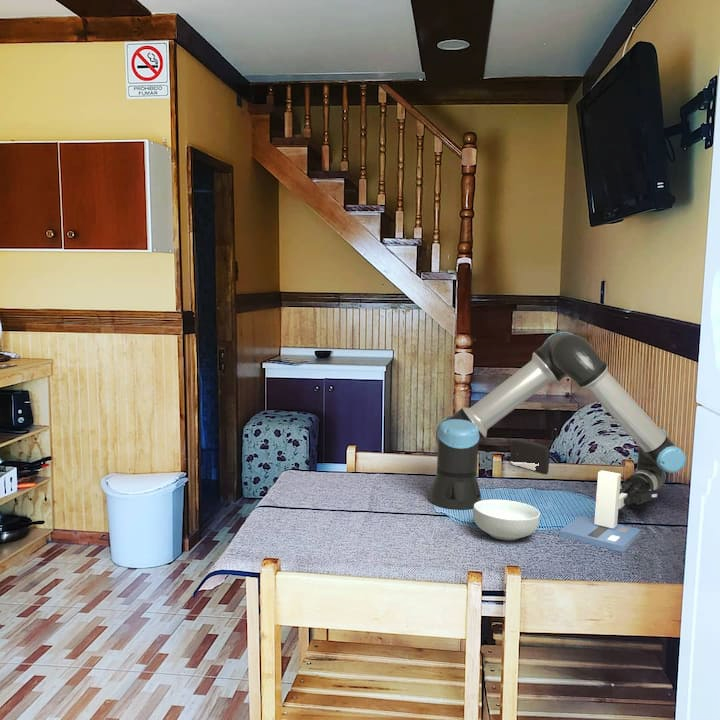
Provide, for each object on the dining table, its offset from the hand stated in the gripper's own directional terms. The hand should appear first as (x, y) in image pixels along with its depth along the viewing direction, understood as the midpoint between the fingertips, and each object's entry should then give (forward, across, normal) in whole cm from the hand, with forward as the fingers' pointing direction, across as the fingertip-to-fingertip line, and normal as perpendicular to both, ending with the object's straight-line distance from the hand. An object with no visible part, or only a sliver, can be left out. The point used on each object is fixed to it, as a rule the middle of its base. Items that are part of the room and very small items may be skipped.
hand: (617, 503), depth 182 cm
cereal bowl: (+25, +20, -7) cm, 33 cm away
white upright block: (+5, +1, -5) cm, 7 cm away
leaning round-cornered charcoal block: (-42, +42, -7) cm, 60 cm away
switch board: (+9, +1, -7) cm, 11 cm away
